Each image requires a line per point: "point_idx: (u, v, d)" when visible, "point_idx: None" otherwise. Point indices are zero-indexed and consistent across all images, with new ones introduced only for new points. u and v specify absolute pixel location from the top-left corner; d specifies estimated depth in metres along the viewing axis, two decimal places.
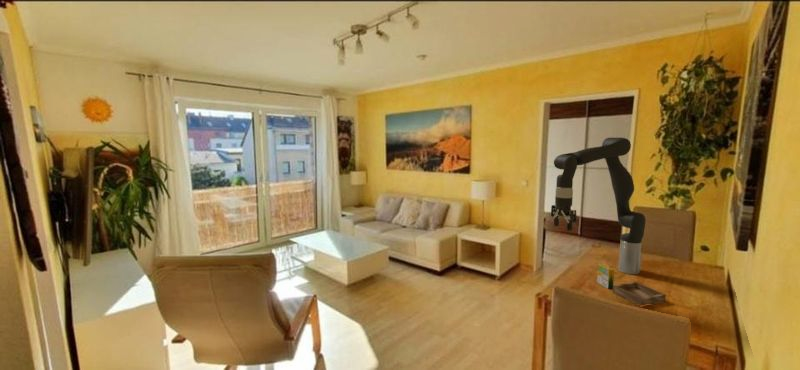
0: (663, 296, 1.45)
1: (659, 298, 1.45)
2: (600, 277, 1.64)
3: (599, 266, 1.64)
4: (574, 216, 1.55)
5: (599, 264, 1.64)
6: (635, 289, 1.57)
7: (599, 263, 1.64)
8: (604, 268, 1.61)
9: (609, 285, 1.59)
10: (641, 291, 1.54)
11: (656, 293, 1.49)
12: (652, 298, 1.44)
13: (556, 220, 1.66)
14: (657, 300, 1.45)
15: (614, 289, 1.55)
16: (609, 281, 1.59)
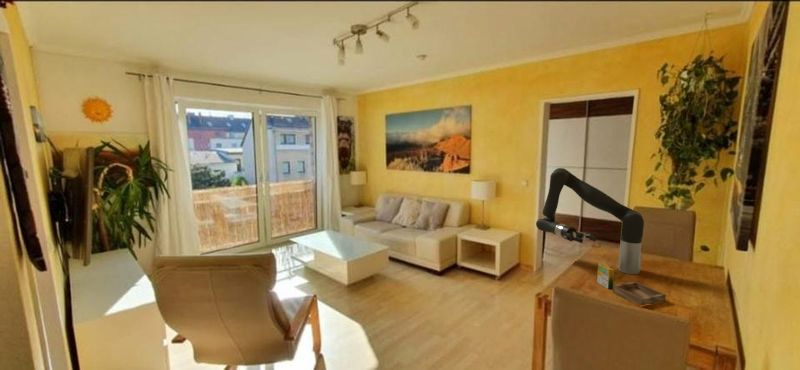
0: (663, 296, 1.45)
1: (659, 298, 1.45)
2: (600, 277, 1.64)
3: (599, 266, 1.64)
4: (567, 237, 1.76)
5: (599, 264, 1.64)
6: (635, 289, 1.57)
7: (599, 263, 1.64)
8: (604, 268, 1.61)
9: (609, 285, 1.59)
10: (641, 291, 1.54)
11: (656, 293, 1.49)
12: (652, 298, 1.44)
13: (590, 238, 1.75)
14: (657, 300, 1.45)
15: (614, 289, 1.55)
16: (609, 281, 1.59)
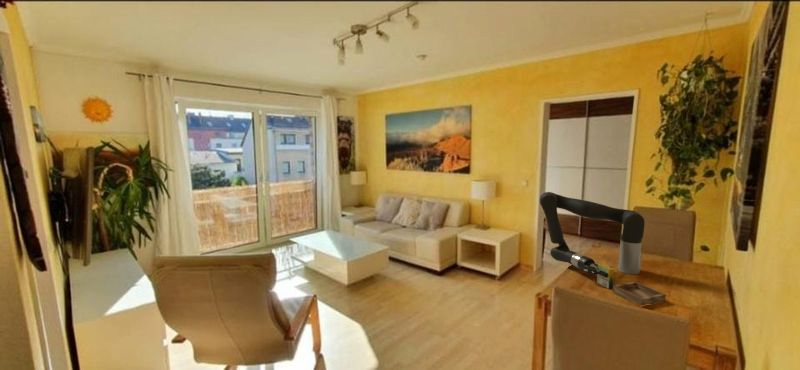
0: (663, 296, 1.45)
1: (659, 298, 1.45)
2: (600, 277, 1.64)
3: (599, 266, 1.64)
4: (589, 270, 1.65)
5: (599, 264, 1.64)
6: (635, 289, 1.57)
7: (599, 263, 1.64)
8: (604, 268, 1.61)
9: (609, 285, 1.59)
10: (641, 291, 1.54)
11: (656, 293, 1.49)
12: (652, 298, 1.44)
13: None
14: (657, 300, 1.45)
15: (614, 289, 1.55)
16: (609, 281, 1.59)
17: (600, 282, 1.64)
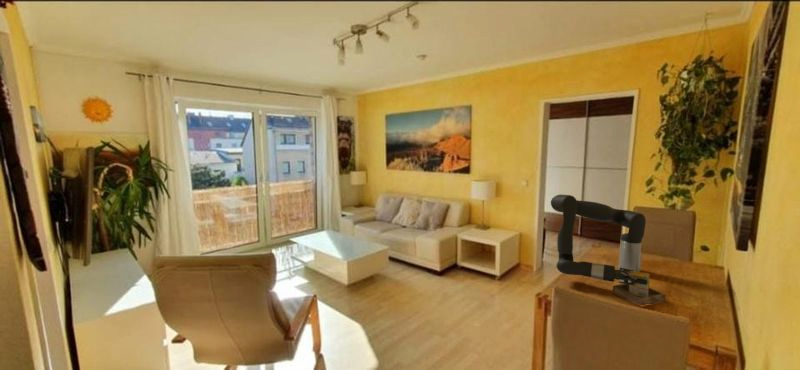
0: (663, 296, 1.45)
1: (659, 298, 1.45)
2: (634, 287, 1.50)
3: (632, 276, 1.50)
4: (626, 281, 1.47)
5: (632, 274, 1.50)
6: None
7: (632, 273, 1.50)
8: (641, 277, 1.48)
9: None
10: None
11: (656, 293, 1.49)
12: (652, 298, 1.44)
13: None
14: (657, 300, 1.45)
15: (614, 289, 1.55)
16: (648, 289, 1.48)
17: (635, 293, 1.50)
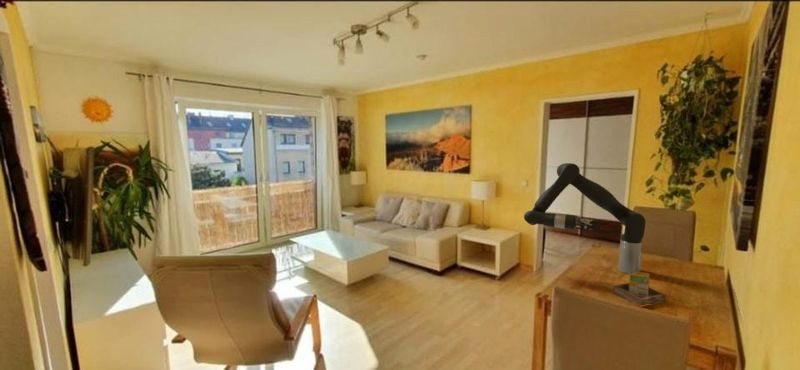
0: (663, 296, 1.45)
1: (659, 298, 1.45)
2: (634, 287, 1.50)
3: (632, 276, 1.50)
4: (582, 226, 1.61)
5: (632, 274, 1.50)
6: None
7: (632, 273, 1.50)
8: (641, 277, 1.48)
9: None
10: None
11: (656, 293, 1.49)
12: (652, 298, 1.44)
13: (594, 223, 1.67)
14: (657, 300, 1.45)
15: (614, 289, 1.55)
16: (648, 289, 1.48)
17: (635, 293, 1.50)
